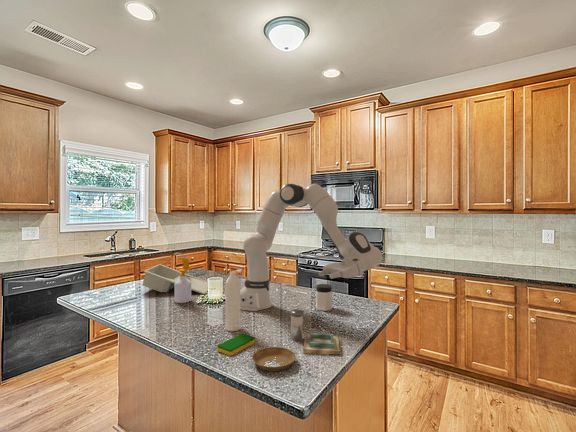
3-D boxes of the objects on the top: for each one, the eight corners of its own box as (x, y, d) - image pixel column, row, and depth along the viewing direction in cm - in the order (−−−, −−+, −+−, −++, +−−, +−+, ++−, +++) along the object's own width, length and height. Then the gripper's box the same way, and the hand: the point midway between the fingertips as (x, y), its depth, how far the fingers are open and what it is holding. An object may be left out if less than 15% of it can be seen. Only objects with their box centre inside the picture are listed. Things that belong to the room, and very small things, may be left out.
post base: (303, 353, 114) (303, 344, 114) (305, 338, 126) (305, 331, 126) (339, 355, 112) (339, 346, 112) (337, 340, 125) (337, 332, 125)
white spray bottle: (234, 332, 132) (234, 273, 131) (222, 329, 135) (222, 272, 135) (246, 325, 140) (246, 270, 139) (235, 323, 143) (235, 268, 142)
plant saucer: (242, 366, 104) (242, 358, 104) (269, 350, 116) (269, 343, 116) (278, 380, 96) (279, 371, 96) (303, 361, 108) (303, 353, 108)
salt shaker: (289, 340, 124) (289, 313, 124) (290, 335, 129) (290, 309, 129) (302, 341, 123) (303, 313, 123) (303, 336, 129) (303, 309, 129)
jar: (322, 312, 159) (322, 288, 159) (312, 307, 166) (312, 285, 166) (335, 309, 164) (335, 286, 164) (325, 305, 171) (325, 283, 170)
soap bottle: (170, 302, 174) (170, 258, 174) (182, 298, 183) (182, 256, 182) (183, 304, 171) (183, 259, 170) (194, 299, 179) (194, 257, 179)
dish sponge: (255, 343, 123) (255, 337, 123) (230, 357, 111) (230, 350, 111) (242, 339, 127) (242, 333, 127) (216, 351, 115) (216, 345, 115)
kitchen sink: (199, 310, 191) (213, 272, 190) (137, 287, 190) (151, 249, 189) (208, 299, 214) (221, 265, 214) (153, 279, 214) (166, 244, 213)
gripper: (336, 257, 149) (312, 266, 144) (362, 260, 131) (334, 270, 125) (340, 270, 150) (315, 279, 144) (366, 274, 131) (338, 285, 125)
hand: (324, 275), depth 135 cm, fingers open, 8 cm apart
